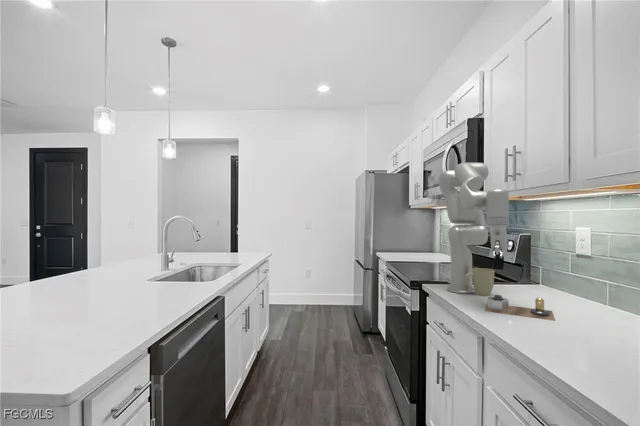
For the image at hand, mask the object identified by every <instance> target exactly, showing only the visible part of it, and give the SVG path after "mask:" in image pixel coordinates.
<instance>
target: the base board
mask: <svg viewBox="0 0 640 426" xmlns="http://www.w3.org/2000/svg"><path fill="white" fill-rule="evenodd" d="M531 309H534V308H532V307H523V306H514V305H509V310H508V311H496V310H492V309H489V308H488V302H487V304H486V306H485V309H484V312H487V313H495V314H502V315H503V314H504V315H510V316H517V317H524V318H525V317H526V318H532V319H540V320H547V321H554V322H555V321H556V318H555V316H554V312H553V310H548V309H546V310H547V311H549V316H538V315H534V314H531V313H530V310H531Z"/></svg>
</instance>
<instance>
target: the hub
mask: <svg viewBox="0 0 640 426" xmlns="http://www.w3.org/2000/svg"><path fill="white" fill-rule="evenodd" d="M544 300H545V299H543V298H542V297H536V299H535V300H534V302H535V304H534V305H535V306H534V307H535V308H533V309H531V310H530V313H531V314H534V315H538V316H549V311H550V310H549V311H547V310H548V309H545V301H544Z"/></svg>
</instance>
